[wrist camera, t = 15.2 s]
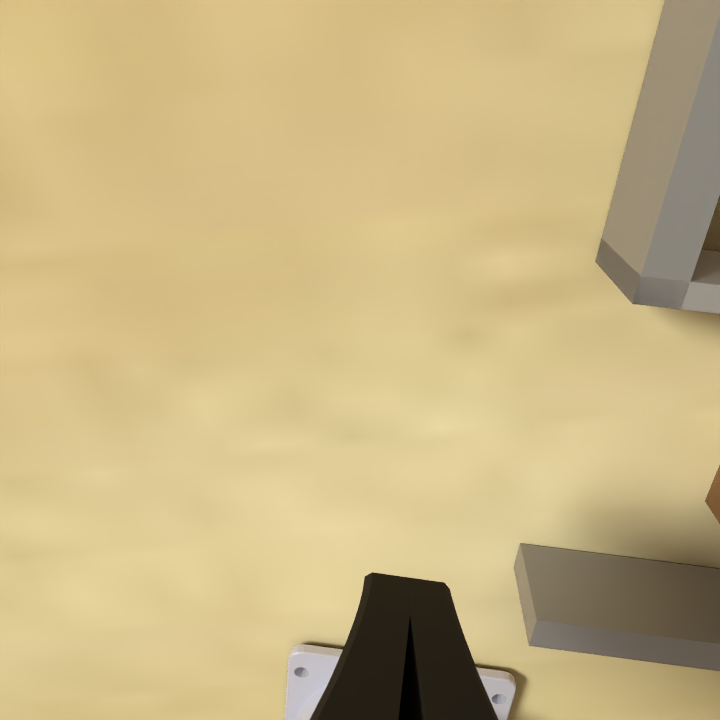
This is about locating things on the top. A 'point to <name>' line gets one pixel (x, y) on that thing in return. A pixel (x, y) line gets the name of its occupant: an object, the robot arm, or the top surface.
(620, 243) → the housing
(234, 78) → the top surface
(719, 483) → the block
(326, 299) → the top surface
